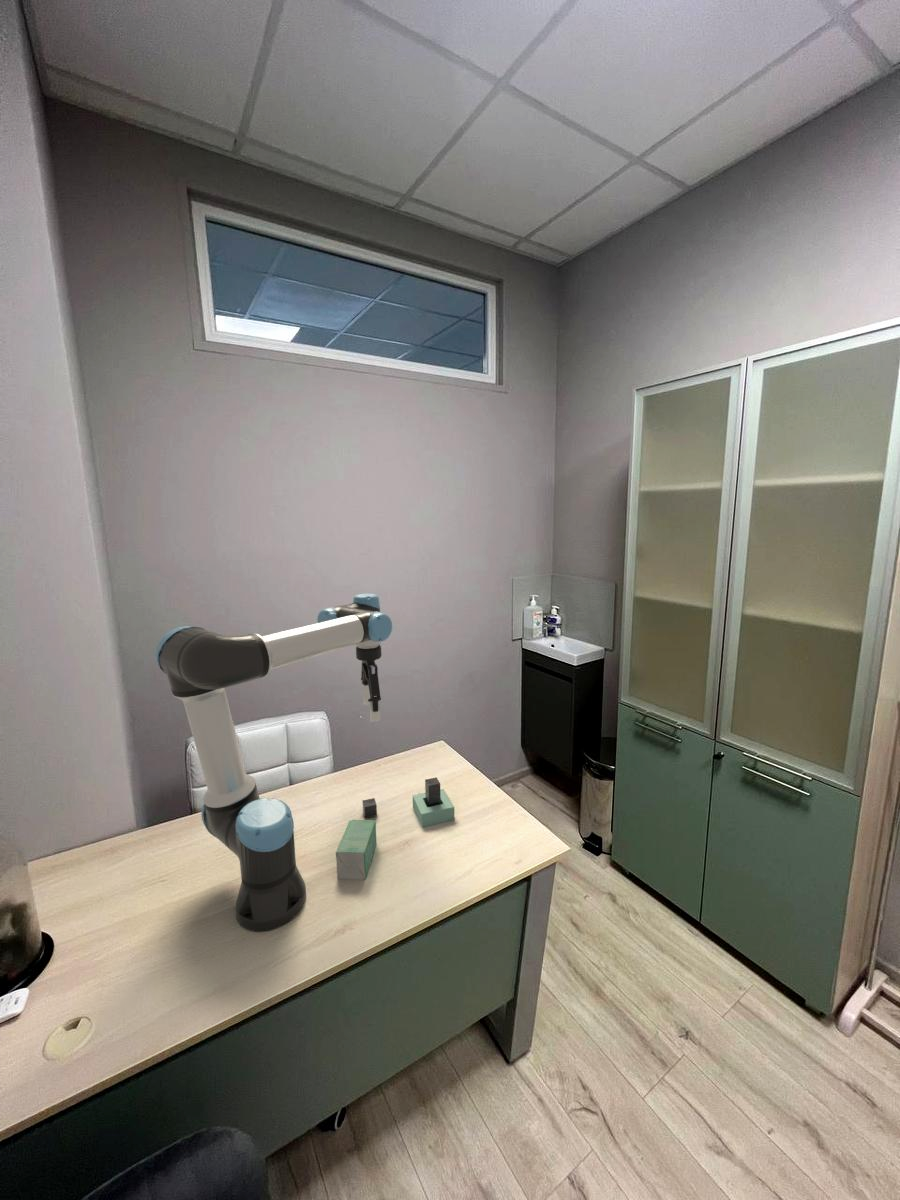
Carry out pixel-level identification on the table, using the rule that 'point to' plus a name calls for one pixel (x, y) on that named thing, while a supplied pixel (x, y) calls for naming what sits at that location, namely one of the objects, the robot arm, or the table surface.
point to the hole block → (433, 809)
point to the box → (356, 849)
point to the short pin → (369, 808)
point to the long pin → (432, 792)
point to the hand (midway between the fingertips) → (371, 712)
